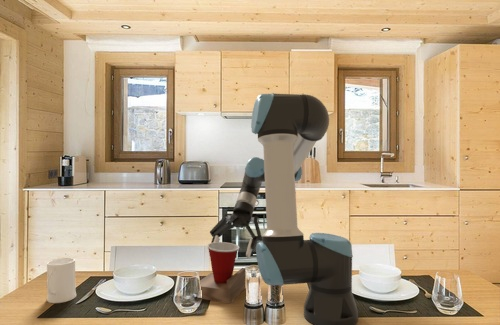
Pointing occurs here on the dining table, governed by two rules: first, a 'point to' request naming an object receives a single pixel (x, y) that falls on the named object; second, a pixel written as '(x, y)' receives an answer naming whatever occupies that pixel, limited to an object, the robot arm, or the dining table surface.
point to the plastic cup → (222, 260)
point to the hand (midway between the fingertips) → (229, 254)
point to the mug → (61, 280)
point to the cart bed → (223, 287)
